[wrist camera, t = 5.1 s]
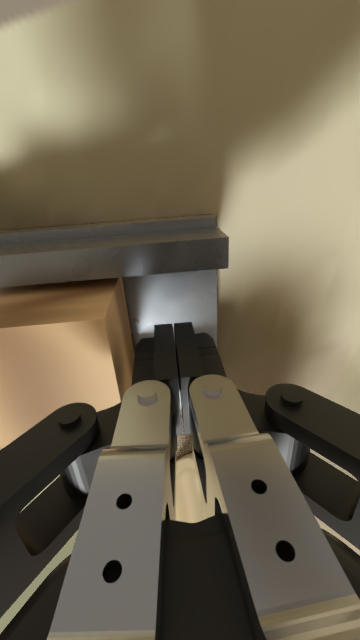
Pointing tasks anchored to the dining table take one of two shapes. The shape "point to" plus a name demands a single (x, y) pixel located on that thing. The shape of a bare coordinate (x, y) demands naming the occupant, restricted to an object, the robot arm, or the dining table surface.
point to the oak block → (61, 350)
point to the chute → (129, 266)
